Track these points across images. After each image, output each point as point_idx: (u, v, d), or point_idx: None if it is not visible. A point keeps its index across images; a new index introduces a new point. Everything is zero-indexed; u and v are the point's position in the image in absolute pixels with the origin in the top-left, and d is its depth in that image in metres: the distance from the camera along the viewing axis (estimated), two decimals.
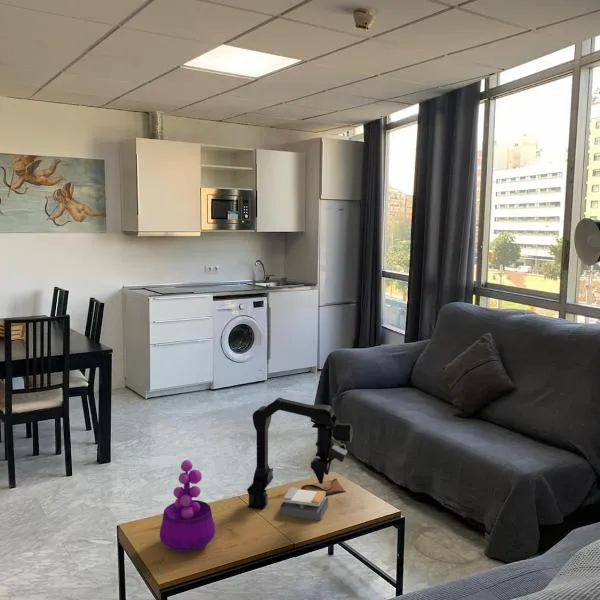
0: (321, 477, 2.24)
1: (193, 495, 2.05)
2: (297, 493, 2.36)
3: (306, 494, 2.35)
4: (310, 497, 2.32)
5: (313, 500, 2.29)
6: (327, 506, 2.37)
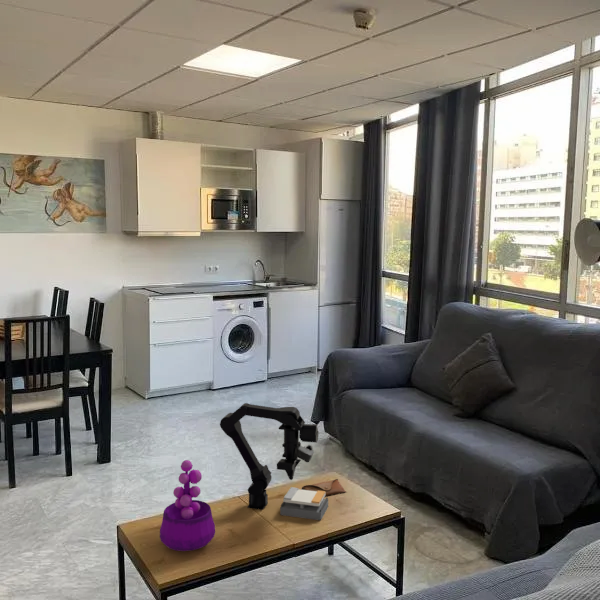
0: (291, 473, 2.33)
1: (193, 495, 2.05)
2: (297, 493, 2.36)
3: (306, 494, 2.35)
4: (310, 497, 2.32)
5: (313, 500, 2.29)
6: (327, 506, 2.37)
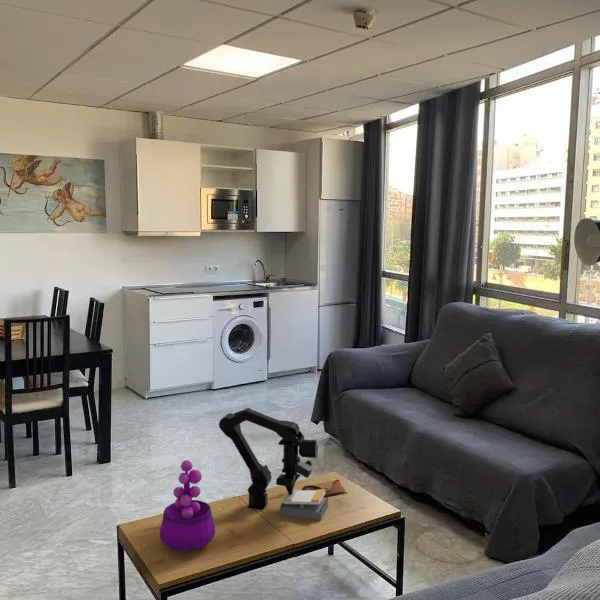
0: (290, 488, 2.34)
1: (193, 495, 2.05)
2: (297, 494, 2.36)
3: (306, 494, 2.35)
4: (310, 497, 2.32)
5: (313, 499, 2.29)
6: (327, 506, 2.37)
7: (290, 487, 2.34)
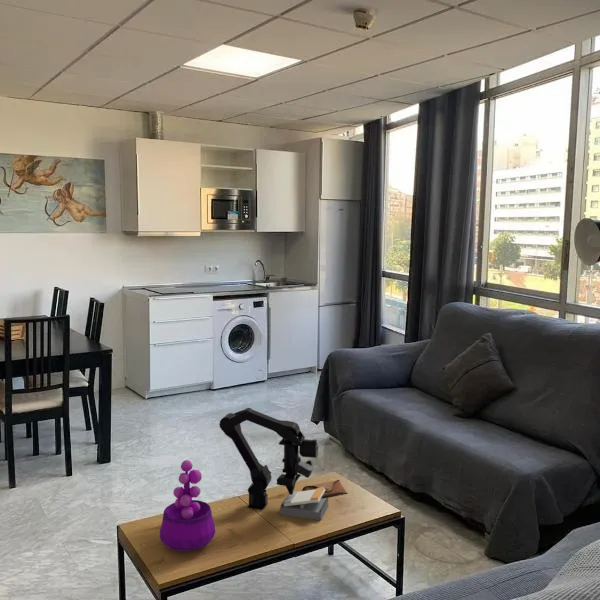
0: (291, 488, 2.34)
1: (193, 495, 2.05)
2: (297, 495, 2.36)
3: (306, 494, 2.35)
4: (310, 496, 2.32)
5: (312, 497, 2.29)
6: (327, 506, 2.37)
7: (291, 487, 2.34)
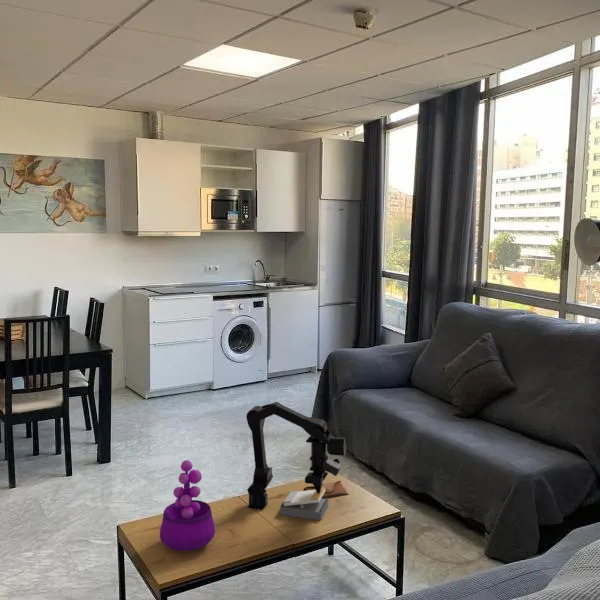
0: (318, 487, 2.31)
1: (193, 495, 2.05)
2: (297, 495, 2.36)
3: (306, 494, 2.35)
4: (310, 496, 2.32)
5: (312, 497, 2.29)
6: (327, 506, 2.37)
7: (318, 485, 2.31)
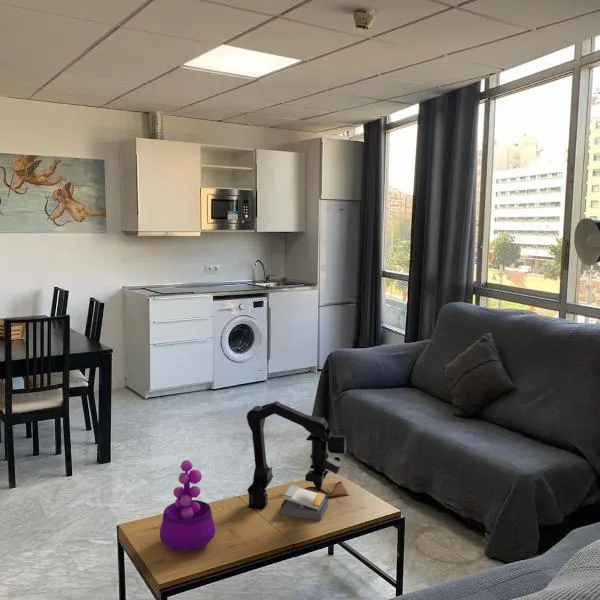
0: (319, 485, 2.31)
1: (193, 495, 2.05)
2: (297, 491, 2.36)
3: (306, 494, 2.35)
4: (310, 499, 2.32)
5: (313, 502, 2.29)
6: (327, 506, 2.37)
7: (319, 483, 2.31)
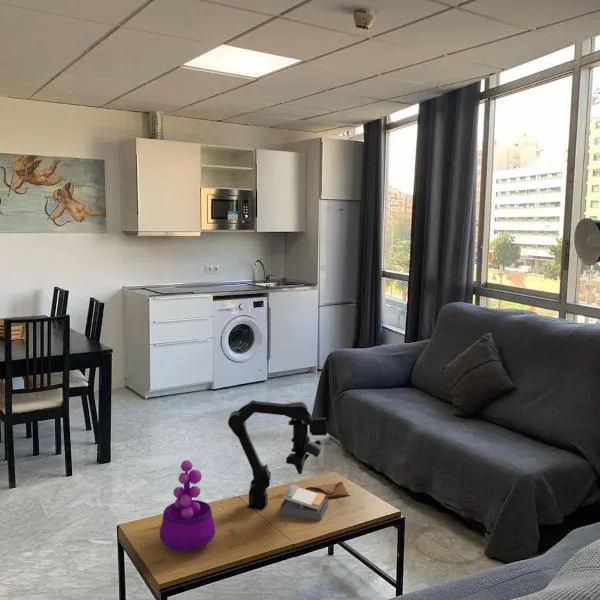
0: (300, 468, 2.36)
1: (193, 495, 2.05)
2: (297, 491, 2.36)
3: (306, 494, 2.35)
4: (310, 499, 2.32)
5: (313, 502, 2.29)
6: (327, 506, 2.37)
7: (300, 466, 2.36)
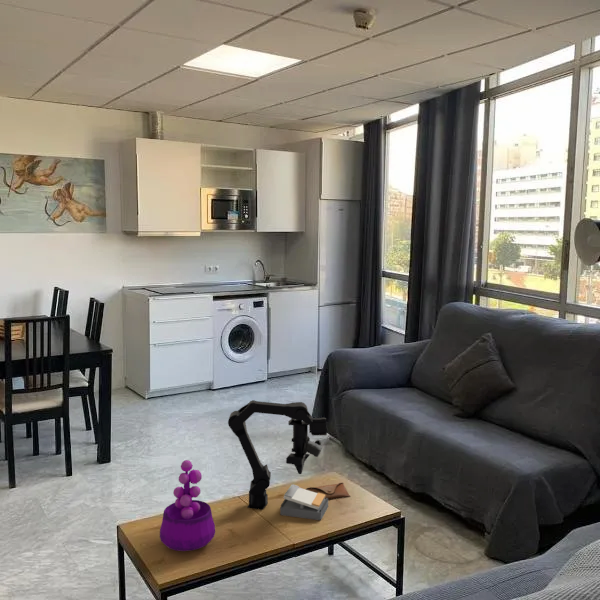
0: (300, 468, 2.36)
1: (193, 495, 2.05)
2: (297, 491, 2.36)
3: (306, 494, 2.35)
4: (310, 499, 2.32)
5: (313, 502, 2.29)
6: (327, 506, 2.37)
7: (300, 466, 2.36)
